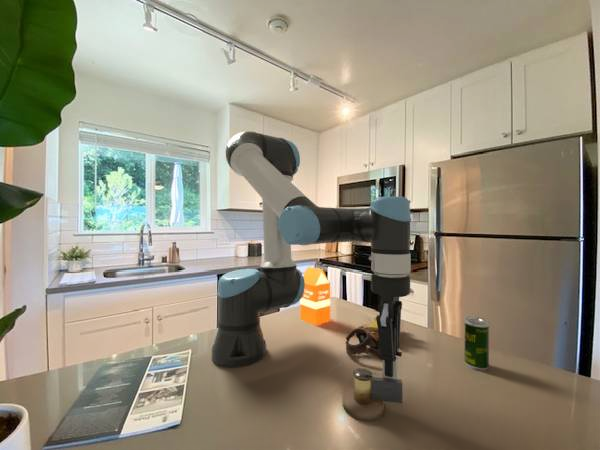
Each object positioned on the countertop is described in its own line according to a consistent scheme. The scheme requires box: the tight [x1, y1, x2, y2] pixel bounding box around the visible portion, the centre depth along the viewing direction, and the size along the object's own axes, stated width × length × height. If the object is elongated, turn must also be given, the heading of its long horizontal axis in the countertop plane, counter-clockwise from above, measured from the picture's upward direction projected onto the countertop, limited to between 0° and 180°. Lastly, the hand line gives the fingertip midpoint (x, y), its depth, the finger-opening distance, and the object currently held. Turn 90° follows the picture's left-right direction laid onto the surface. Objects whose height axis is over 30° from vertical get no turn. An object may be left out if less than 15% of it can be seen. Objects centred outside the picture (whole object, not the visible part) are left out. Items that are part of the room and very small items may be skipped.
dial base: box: [342, 387, 384, 422], centre depth 55 cm, size 8×8×2 cm
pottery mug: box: [345, 325, 380, 355], centre depth 78 cm, size 12×10×8 cm
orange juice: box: [299, 266, 331, 326], centre depth 104 cm, size 8×9×20 cm
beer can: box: [464, 315, 490, 371], centre depth 71 cm, size 5×5×12 cm
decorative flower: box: [361, 316, 379, 340], centre depth 91 cm, size 15×11×10 cm
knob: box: [352, 367, 403, 405], centre depth 55 cm, size 9×4×5 cm, turn 78°
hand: (390, 388), depth 56 cm, fingers closed
